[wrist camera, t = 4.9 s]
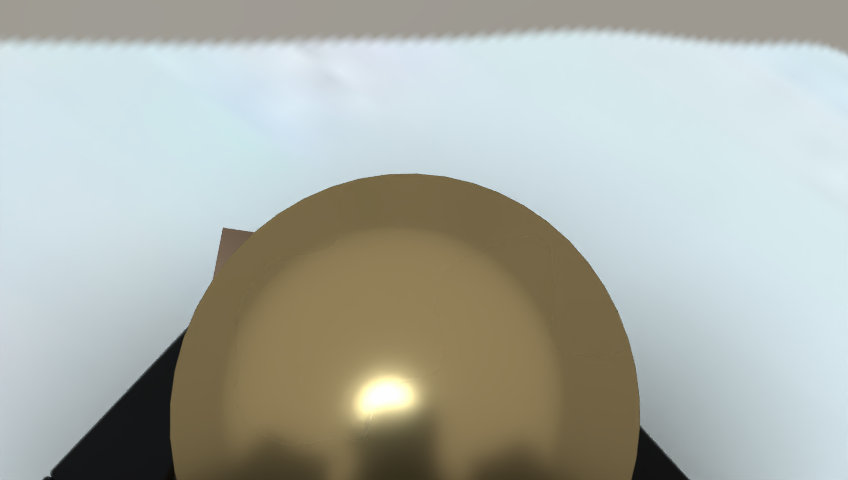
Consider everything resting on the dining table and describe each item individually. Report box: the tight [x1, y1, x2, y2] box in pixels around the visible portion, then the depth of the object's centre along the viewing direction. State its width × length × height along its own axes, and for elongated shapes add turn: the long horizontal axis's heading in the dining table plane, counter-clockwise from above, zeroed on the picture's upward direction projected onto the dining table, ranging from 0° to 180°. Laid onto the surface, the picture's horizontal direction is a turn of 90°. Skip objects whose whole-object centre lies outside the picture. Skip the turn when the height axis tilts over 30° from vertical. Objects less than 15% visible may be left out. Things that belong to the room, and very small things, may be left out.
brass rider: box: [170, 174, 640, 480], centre depth 10 cm, size 4×4×10 cm
